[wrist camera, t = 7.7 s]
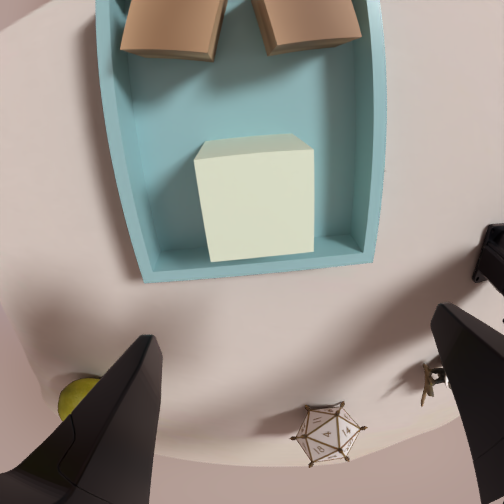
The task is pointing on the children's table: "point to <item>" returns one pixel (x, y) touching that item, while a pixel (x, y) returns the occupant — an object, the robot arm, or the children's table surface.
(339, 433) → the game die
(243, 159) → the sage block
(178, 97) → the tray
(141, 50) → the walnut block
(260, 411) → the children's table surface
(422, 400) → the eagle figurine
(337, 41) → the walnut block
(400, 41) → the children's table surface
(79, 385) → the apple
